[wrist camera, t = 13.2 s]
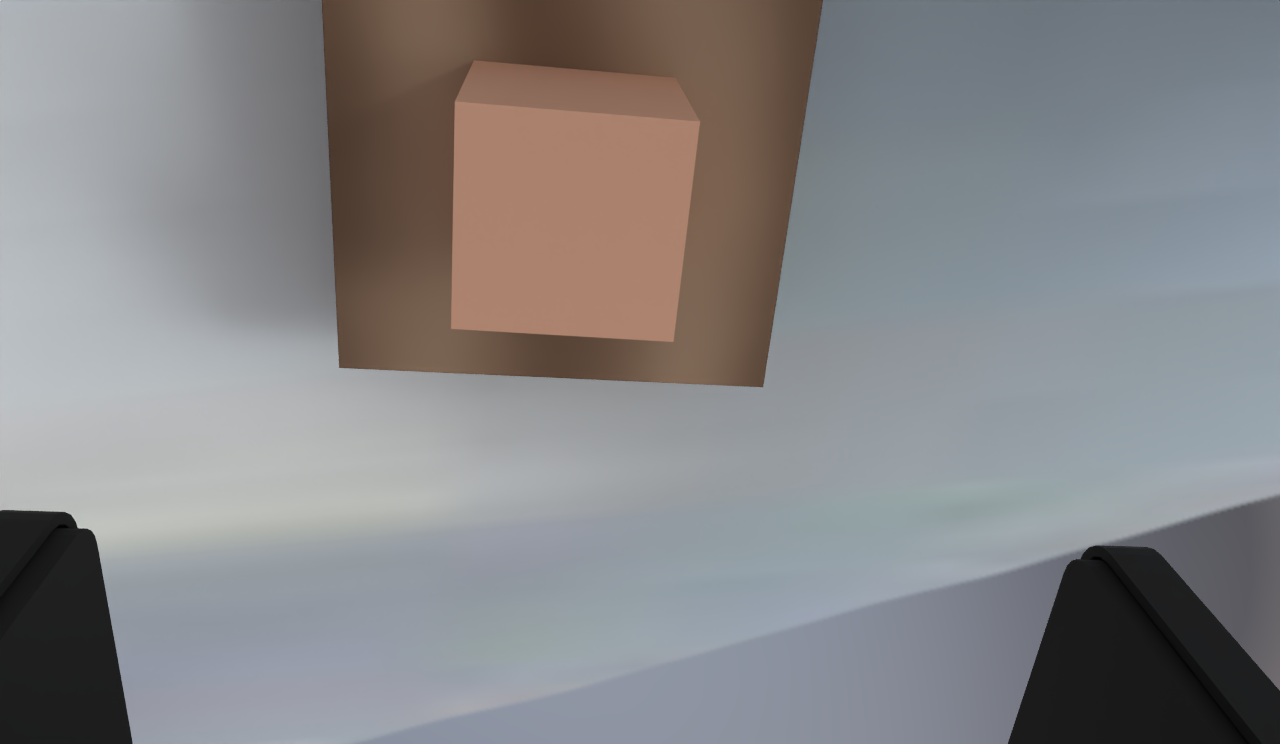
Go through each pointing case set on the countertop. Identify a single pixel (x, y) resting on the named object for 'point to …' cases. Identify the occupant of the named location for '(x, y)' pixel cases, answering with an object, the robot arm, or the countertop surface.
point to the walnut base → (575, 39)
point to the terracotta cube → (570, 201)
